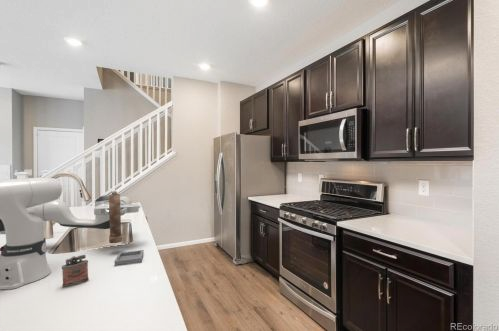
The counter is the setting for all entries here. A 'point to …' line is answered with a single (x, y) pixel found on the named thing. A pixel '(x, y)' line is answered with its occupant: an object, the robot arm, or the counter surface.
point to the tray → (129, 257)
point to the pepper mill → (115, 218)
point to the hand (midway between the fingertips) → (114, 212)
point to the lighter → (75, 271)
